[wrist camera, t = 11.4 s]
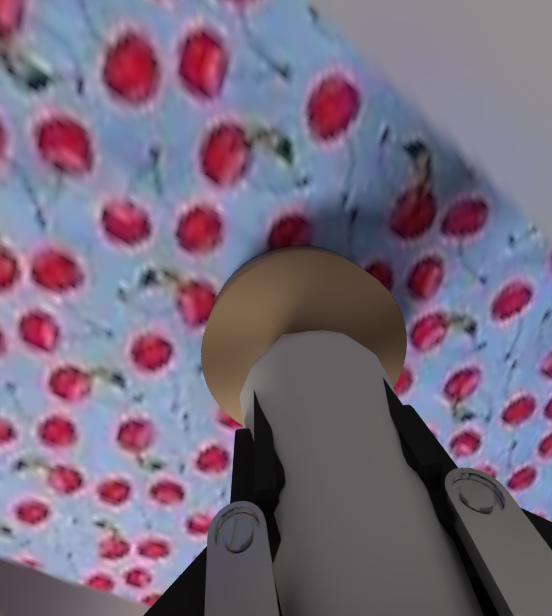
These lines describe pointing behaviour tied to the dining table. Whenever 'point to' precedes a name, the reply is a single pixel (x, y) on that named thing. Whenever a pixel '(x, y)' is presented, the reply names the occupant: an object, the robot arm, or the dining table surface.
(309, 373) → the salt shaker
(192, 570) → the robot arm
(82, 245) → the dining table surface
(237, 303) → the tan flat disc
